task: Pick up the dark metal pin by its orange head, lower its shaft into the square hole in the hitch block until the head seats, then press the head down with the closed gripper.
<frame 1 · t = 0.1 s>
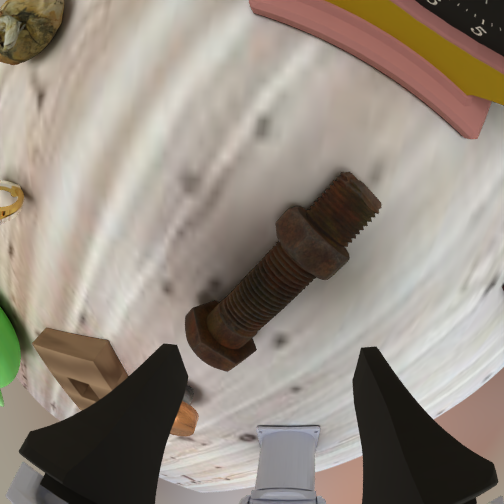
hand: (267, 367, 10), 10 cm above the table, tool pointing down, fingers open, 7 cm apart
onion: (51, 26, 12), on the table
pin: (181, 389, 28), on the table
toy bird: (2, 314, 30), on the table
yellow mantel clock: (393, 21, 11), on the table
bolt: (282, 259, 20), on the table
ring: (20, 188, 20), on the table
hitch block: (96, 372, 30), on the table
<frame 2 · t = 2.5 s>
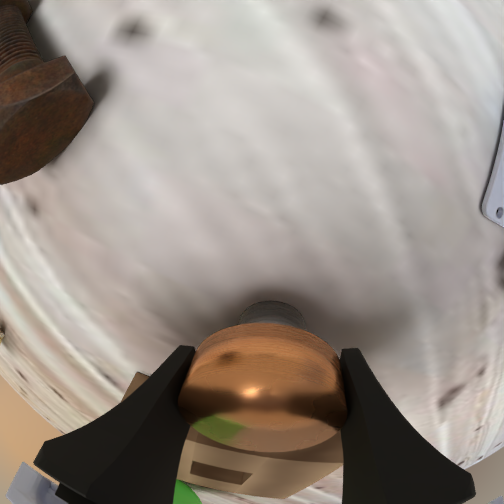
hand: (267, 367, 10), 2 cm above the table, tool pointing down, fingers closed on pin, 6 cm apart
pin: (271, 327, 12), on the table, touching gripper
toy bird: (157, 470, 28), on the table
bolt: (34, 45, 7), on the table
ring: (3, 330, 18), on the table
hitch block: (226, 438, 18), on the table
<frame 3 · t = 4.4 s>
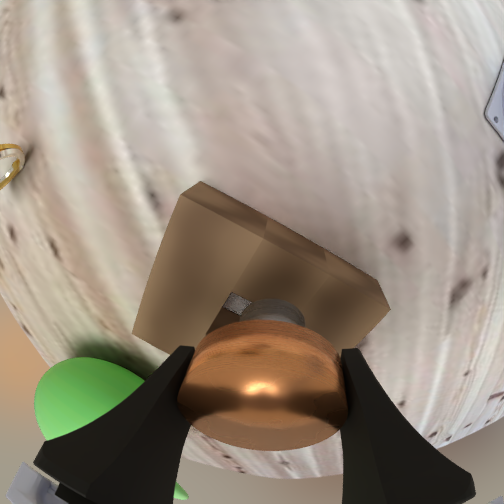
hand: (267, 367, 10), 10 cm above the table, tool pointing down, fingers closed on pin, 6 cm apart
pin: (272, 325, 12), point 7 cm above the table, touching gripper
toy bird: (126, 381, 29), on the table
ring: (23, 164, 18), on the table
hitch block: (253, 298, 20), on the table
when the fingers open (4 cm above the table, at t = 6.6 s): pin drops 1 cm, resting on hitch block.
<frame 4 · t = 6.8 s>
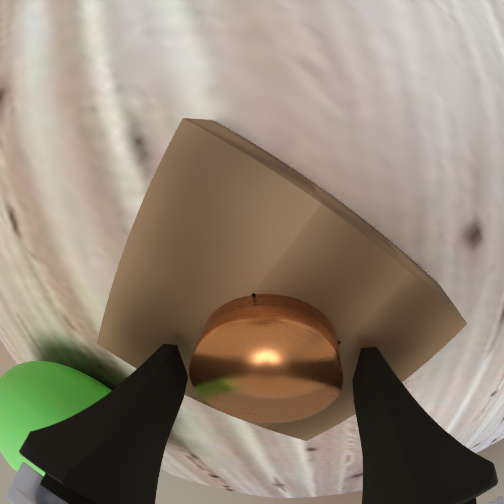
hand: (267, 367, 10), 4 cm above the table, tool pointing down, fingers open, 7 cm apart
pin: (273, 306, 13), resting on hitch block
toy bird: (99, 391, 22), on the table
hitch block: (274, 302, 14), on the table
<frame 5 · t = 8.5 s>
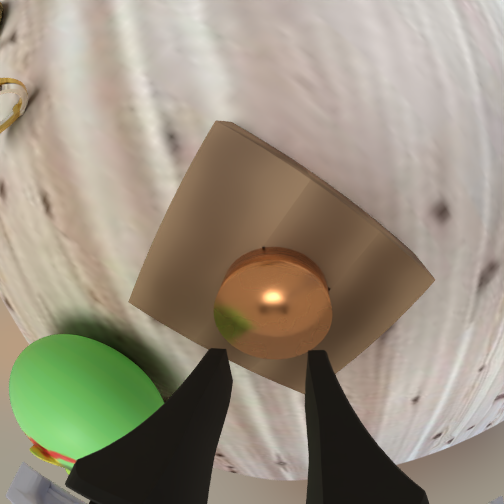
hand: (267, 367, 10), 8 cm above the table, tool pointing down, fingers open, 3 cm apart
pin: (277, 268, 17), resting on hitch block
toy bird: (114, 366, 26), on the table
ring: (24, 109, 14), on the table
hitch block: (277, 265, 18), on the table
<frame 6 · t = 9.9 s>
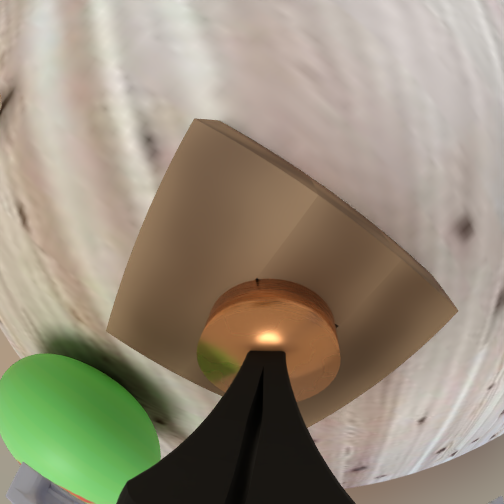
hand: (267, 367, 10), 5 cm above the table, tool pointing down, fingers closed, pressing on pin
pin: (275, 295, 14), resting on hitch block, touching gripper
toy bird: (103, 384, 23), on the table
ring: (0, 112, 12), on the table
hitch block: (275, 291, 15), on the table
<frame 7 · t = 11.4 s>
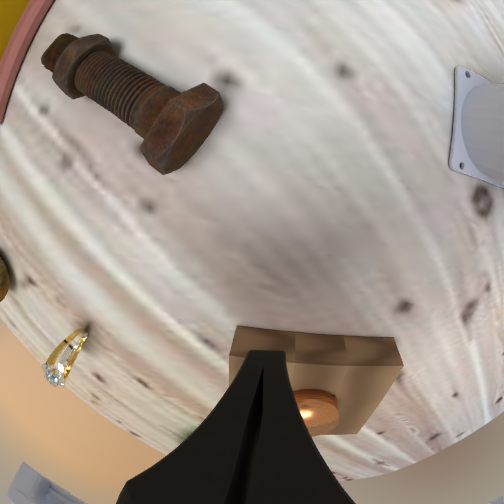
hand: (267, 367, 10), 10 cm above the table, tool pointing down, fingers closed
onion: (2, 264, 25), on the table
pin: (306, 381, 24), resting on hitch block
yellow mantel clock: (13, 45, 13), on the table
bolt: (129, 82, 15), on the table
ring: (86, 333, 27), on the table
hitch block: (306, 377, 25), on the table
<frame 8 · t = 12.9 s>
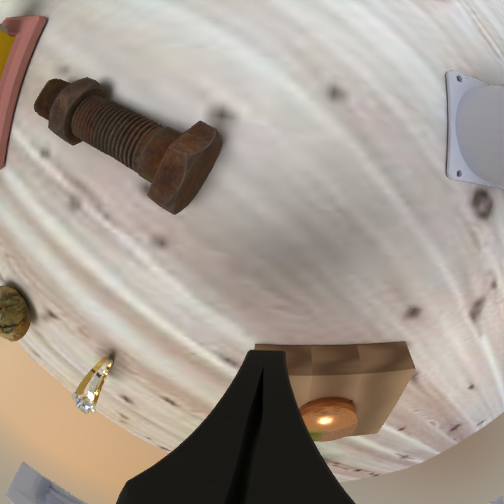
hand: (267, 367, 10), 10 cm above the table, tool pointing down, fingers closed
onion: (21, 299, 28), on the table
pin: (325, 388, 25), resting on hitch block
yellow mantel clock: (4, 88, 15), on the table
bolt: (126, 122, 17), on the table
ring: (111, 359, 29), on the table
hitch block: (325, 385, 25), on the table
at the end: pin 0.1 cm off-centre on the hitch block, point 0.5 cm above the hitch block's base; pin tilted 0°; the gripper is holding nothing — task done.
